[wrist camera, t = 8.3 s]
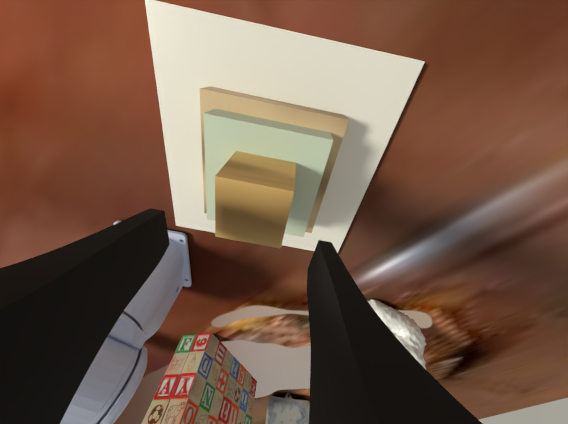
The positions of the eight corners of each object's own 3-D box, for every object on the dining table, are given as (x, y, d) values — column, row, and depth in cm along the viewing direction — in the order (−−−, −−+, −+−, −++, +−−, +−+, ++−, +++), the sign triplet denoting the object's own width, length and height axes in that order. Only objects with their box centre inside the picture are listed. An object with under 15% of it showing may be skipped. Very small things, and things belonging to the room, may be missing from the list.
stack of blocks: (258, 380, 48) (245, 465, 37) (233, 381, 49) (215, 463, 39) (211, 331, 37) (176, 432, 26) (181, 334, 38) (137, 431, 28)
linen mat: (336, 252, 24) (336, 255, 24) (177, 223, 23) (176, 225, 23) (422, 61, 14) (424, 61, 14) (148, 0, 13) (144, -2, 13)
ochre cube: (285, 212, 16) (280, 248, 13) (233, 202, 16) (215, 236, 13) (296, 162, 14) (294, 191, 11) (236, 150, 14) (215, 176, 10)
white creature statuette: (368, 295, 28) (404, 419, 18) (432, 304, 28) (502, 432, 18) (346, 331, 33) (365, 442, 23) (400, 339, 33) (442, 452, 23)
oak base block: (310, 220, 21) (311, 233, 20) (212, 201, 21) (204, 212, 19) (344, 114, 16) (349, 119, 14) (210, 86, 15) (199, 88, 14)
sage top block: (303, 222, 19) (303, 237, 17) (215, 206, 19) (206, 219, 17) (329, 132, 15) (333, 140, 13) (214, 108, 14) (203, 113, 13)
